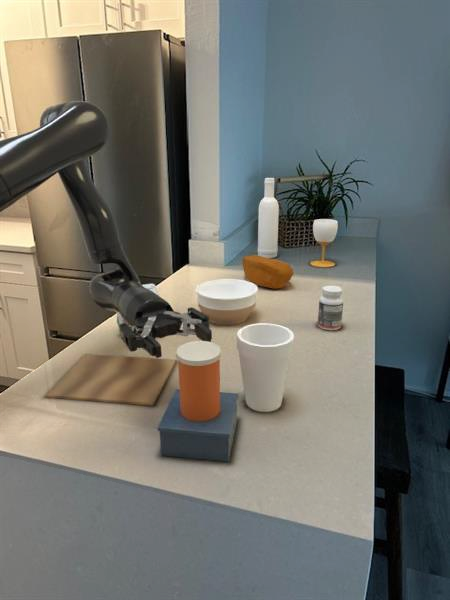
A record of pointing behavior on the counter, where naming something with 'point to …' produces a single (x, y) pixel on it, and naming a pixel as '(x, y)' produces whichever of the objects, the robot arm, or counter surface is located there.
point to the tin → (199, 431)
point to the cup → (324, 238)
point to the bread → (266, 271)
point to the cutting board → (114, 379)
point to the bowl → (227, 300)
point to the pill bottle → (330, 308)
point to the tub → (199, 380)
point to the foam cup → (264, 363)
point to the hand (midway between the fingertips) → (185, 344)
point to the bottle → (268, 222)
